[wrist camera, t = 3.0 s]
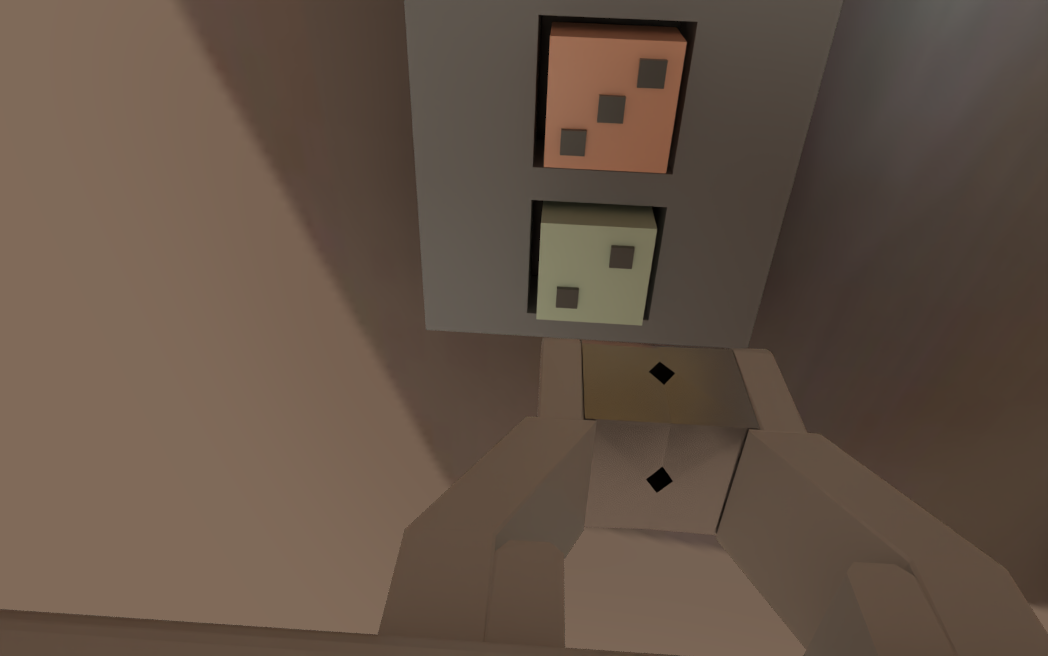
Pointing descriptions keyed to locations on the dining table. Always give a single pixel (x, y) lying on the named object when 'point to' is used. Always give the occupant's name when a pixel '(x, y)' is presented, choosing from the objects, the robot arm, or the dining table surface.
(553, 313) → the button two
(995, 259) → the dining table surface
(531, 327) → the button panel
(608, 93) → the button three
